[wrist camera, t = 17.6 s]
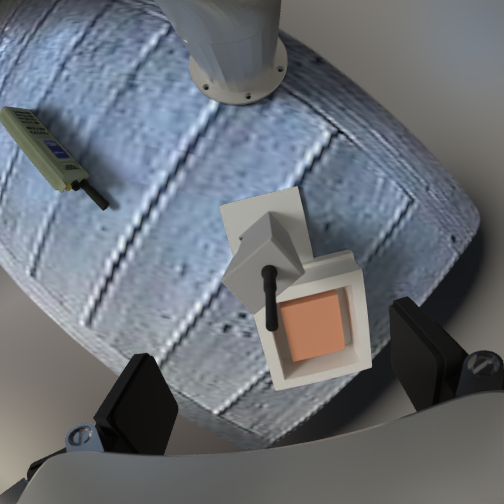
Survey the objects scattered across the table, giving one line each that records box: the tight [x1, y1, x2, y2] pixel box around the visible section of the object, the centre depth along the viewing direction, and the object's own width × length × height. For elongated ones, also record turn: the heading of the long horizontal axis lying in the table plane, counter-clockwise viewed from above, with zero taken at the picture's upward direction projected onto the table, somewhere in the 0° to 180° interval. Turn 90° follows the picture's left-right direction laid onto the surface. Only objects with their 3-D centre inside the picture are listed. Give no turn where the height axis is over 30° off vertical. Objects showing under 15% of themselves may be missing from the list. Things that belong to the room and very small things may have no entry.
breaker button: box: [279, 289, 345, 362], centre depth 37 cm, size 8×7×3 cm
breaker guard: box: [254, 249, 372, 391], centre depth 37 cm, size 15×14×7 cm
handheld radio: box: [0, 107, 109, 210], centre depth 34 cm, size 7×3×25 cm
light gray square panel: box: [219, 186, 314, 262], centre depth 38 cm, size 10×10×1 cm
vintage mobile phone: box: [222, 211, 305, 332], centre depth 26 cm, size 4×5×25 cm
